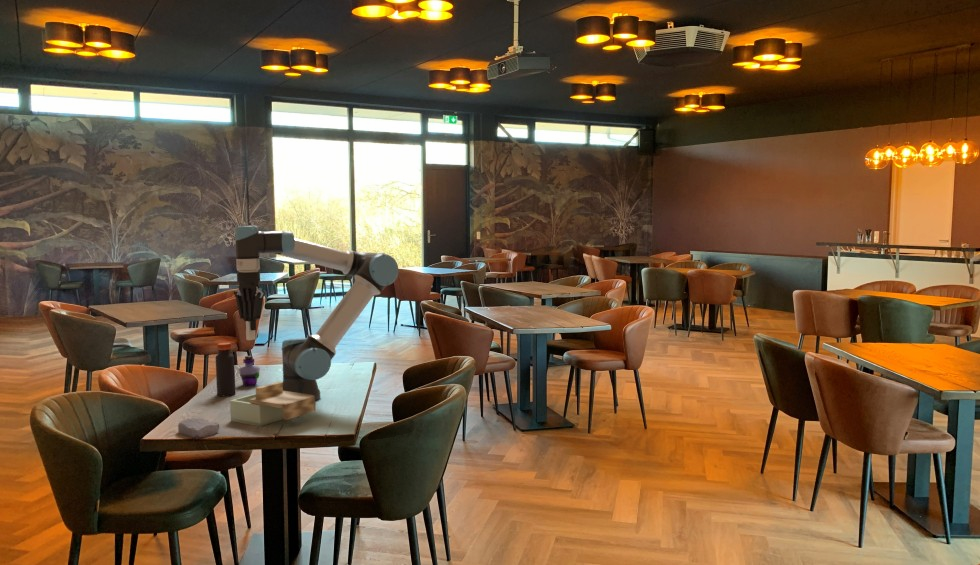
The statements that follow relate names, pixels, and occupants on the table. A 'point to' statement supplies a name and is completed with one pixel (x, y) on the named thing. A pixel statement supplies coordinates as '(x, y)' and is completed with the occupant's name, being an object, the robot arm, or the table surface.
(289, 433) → the table surface
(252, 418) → the cream box
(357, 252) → the robot arm
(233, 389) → the vinegar
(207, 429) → the stone block
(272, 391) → the lid
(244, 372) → the potion bottle
